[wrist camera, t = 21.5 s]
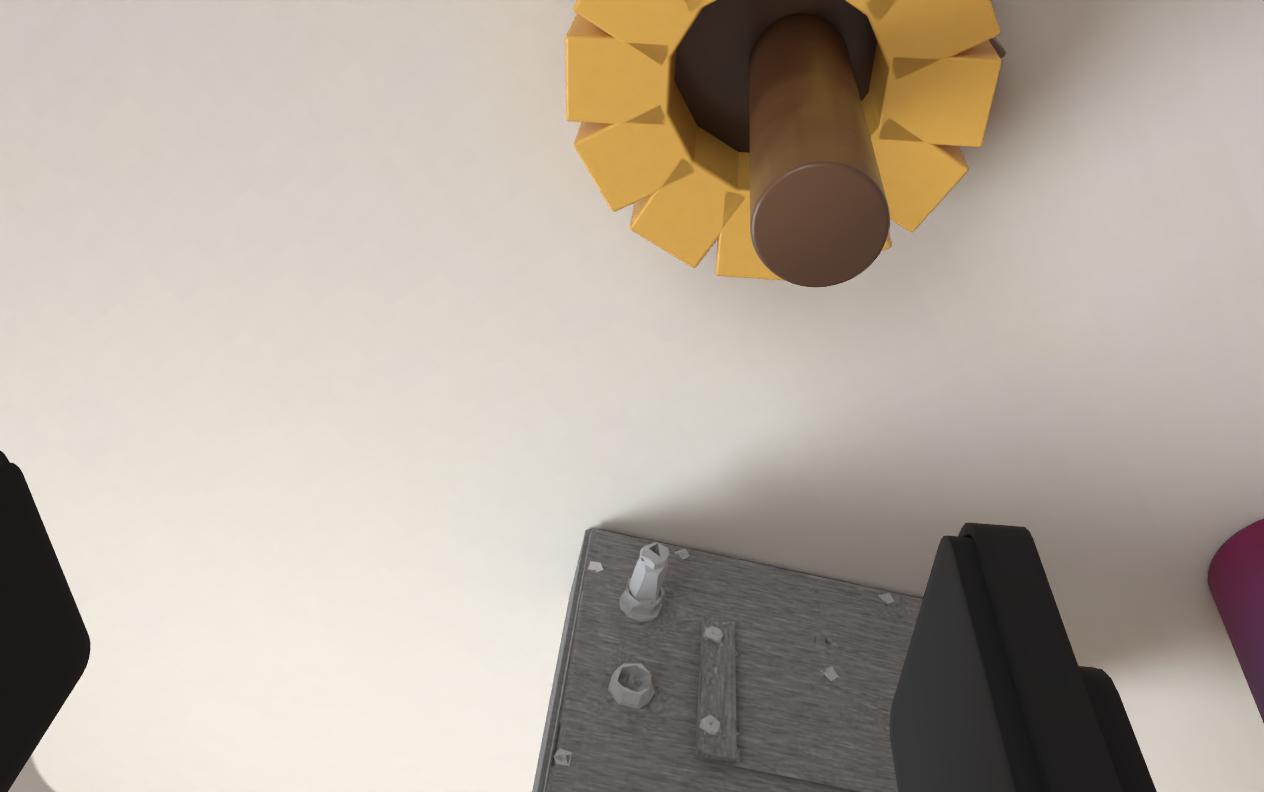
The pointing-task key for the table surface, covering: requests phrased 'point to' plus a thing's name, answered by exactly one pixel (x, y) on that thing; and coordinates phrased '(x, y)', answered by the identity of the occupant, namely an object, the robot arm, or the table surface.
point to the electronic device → (720, 676)
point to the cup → (1243, 601)
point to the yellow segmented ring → (720, 176)
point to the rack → (794, 127)
